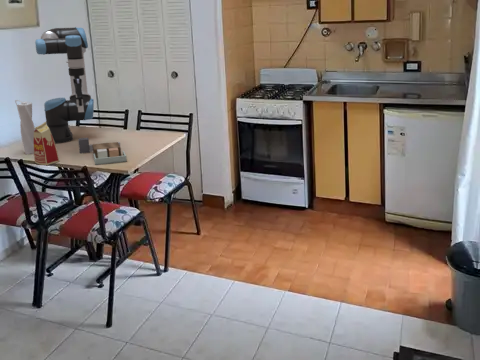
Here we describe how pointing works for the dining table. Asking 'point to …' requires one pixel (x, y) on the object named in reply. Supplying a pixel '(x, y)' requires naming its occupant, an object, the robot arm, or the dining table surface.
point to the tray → (110, 159)
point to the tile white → (102, 153)
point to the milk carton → (44, 146)
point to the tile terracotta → (113, 152)
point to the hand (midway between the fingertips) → (80, 109)
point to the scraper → (85, 145)
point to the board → (105, 147)
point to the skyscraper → (26, 126)
